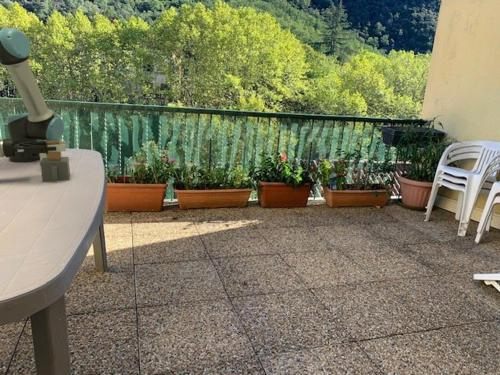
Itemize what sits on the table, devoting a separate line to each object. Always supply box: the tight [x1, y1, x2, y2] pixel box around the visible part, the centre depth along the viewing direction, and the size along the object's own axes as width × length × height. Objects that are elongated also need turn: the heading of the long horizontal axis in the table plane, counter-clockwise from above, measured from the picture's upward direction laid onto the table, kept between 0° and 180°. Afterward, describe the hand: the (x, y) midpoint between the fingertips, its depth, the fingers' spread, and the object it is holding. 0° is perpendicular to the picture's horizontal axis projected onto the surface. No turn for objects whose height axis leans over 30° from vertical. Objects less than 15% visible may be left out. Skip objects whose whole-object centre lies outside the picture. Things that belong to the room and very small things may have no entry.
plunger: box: [45, 139, 62, 161], centre depth 164 cm, size 4×5×14 cm
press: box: [39, 156, 71, 183], centre depth 164 cm, size 13×10×8 cm
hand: (65, 145), depth 164 cm, fingers open, 8 cm apart
